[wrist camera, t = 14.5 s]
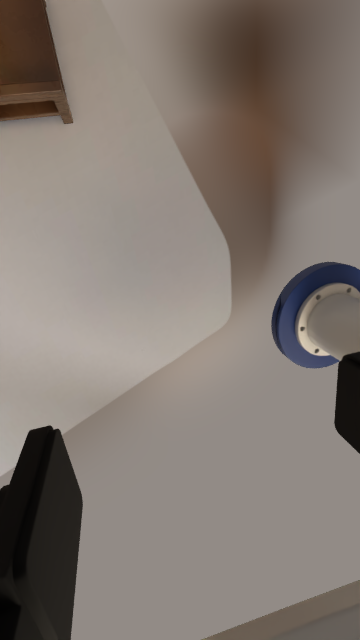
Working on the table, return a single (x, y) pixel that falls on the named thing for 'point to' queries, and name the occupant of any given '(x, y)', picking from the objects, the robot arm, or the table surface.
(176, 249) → the table surface
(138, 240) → the table surface
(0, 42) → the tray
